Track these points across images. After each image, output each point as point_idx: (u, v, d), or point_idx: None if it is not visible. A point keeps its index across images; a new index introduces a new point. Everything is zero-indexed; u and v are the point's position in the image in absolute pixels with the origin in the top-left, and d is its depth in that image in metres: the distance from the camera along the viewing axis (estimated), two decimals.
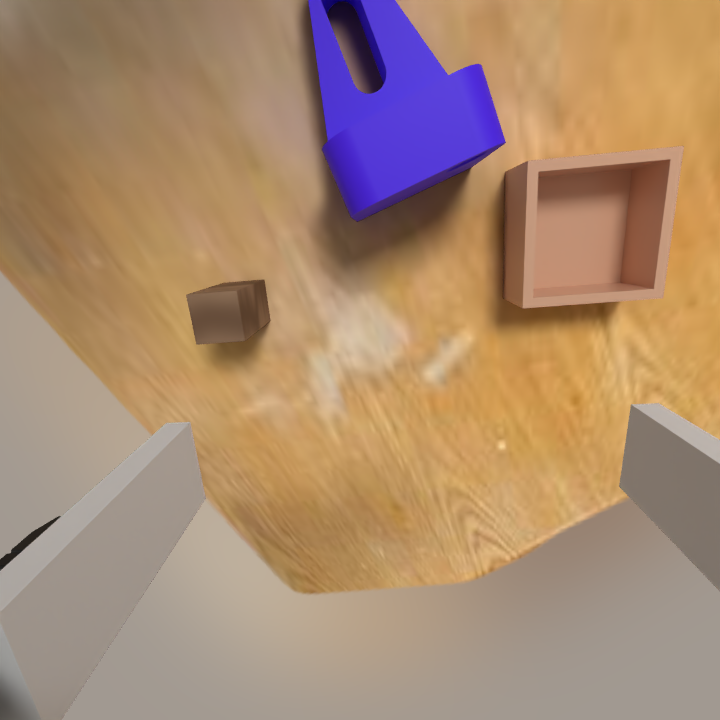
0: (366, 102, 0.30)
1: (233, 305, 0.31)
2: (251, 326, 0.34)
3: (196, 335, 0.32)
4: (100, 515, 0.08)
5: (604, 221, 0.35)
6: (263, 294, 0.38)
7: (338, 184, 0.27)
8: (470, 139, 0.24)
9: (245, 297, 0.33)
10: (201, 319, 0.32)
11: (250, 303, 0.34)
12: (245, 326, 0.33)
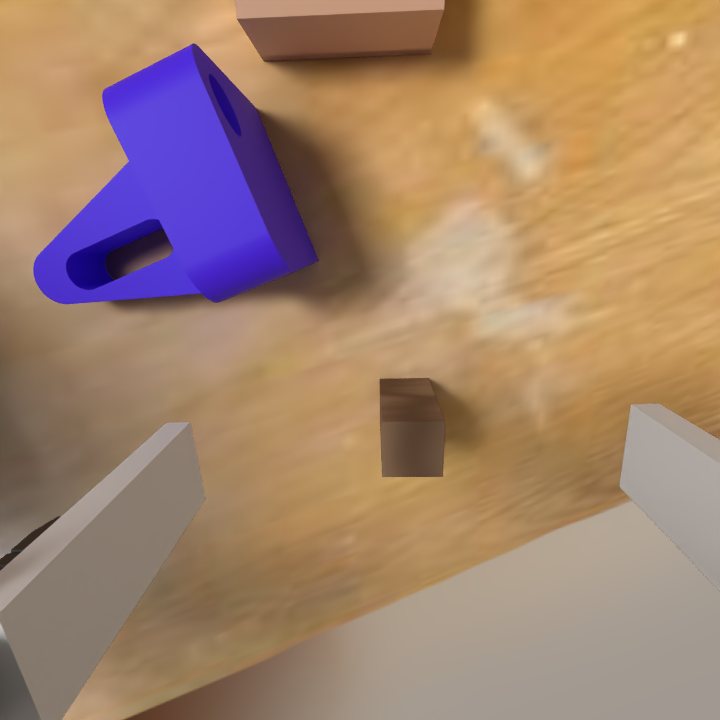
0: None
1: (398, 428, 0.26)
2: (429, 407, 0.28)
3: (431, 474, 0.27)
4: (100, 515, 0.08)
5: None
6: (396, 382, 0.32)
7: (254, 285, 0.21)
8: (186, 96, 0.17)
9: (392, 409, 0.27)
10: (412, 465, 0.26)
11: (402, 403, 0.28)
12: (427, 416, 0.26)
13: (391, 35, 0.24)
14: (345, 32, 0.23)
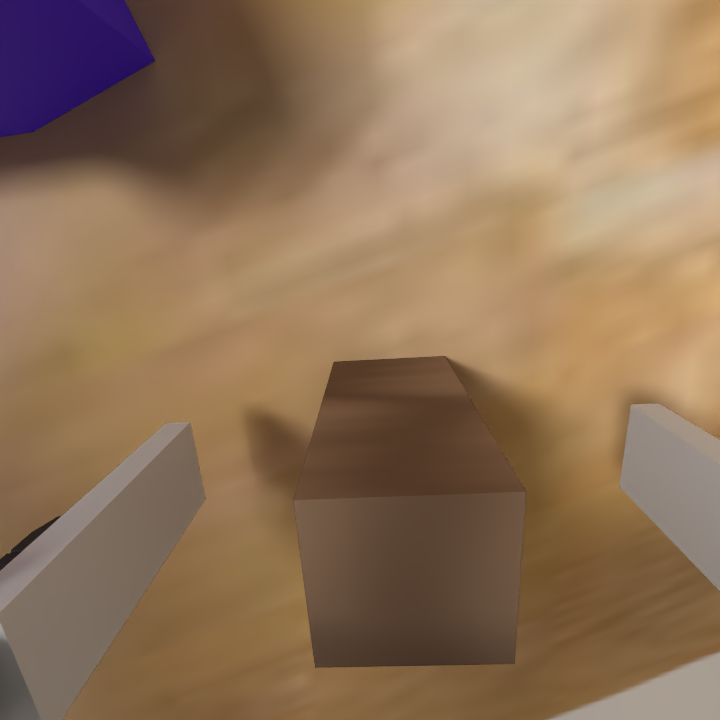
0: None
1: (356, 519, 0.07)
2: (456, 432, 0.09)
3: (477, 659, 0.08)
4: (100, 515, 0.08)
5: None
6: (370, 367, 0.14)
7: None
8: None
9: (344, 443, 0.09)
10: (412, 634, 0.08)
11: (376, 423, 0.10)
12: (458, 471, 0.08)
13: None
14: None
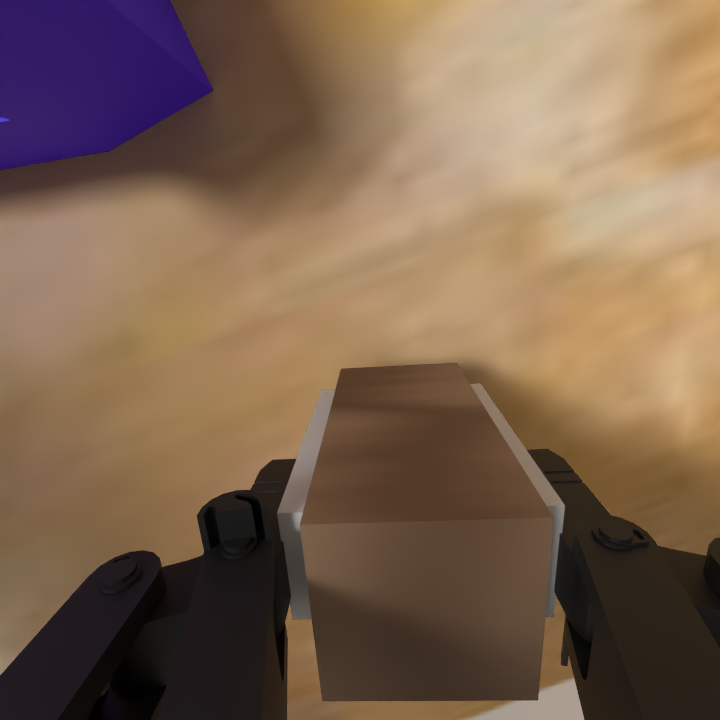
0: None
1: (367, 546, 0.07)
2: (474, 447, 0.08)
3: (497, 694, 0.07)
4: None
5: None
6: (378, 374, 0.13)
7: None
8: None
9: (354, 459, 0.08)
10: (428, 668, 0.07)
11: (386, 436, 0.09)
12: (477, 493, 0.07)
13: None
14: None
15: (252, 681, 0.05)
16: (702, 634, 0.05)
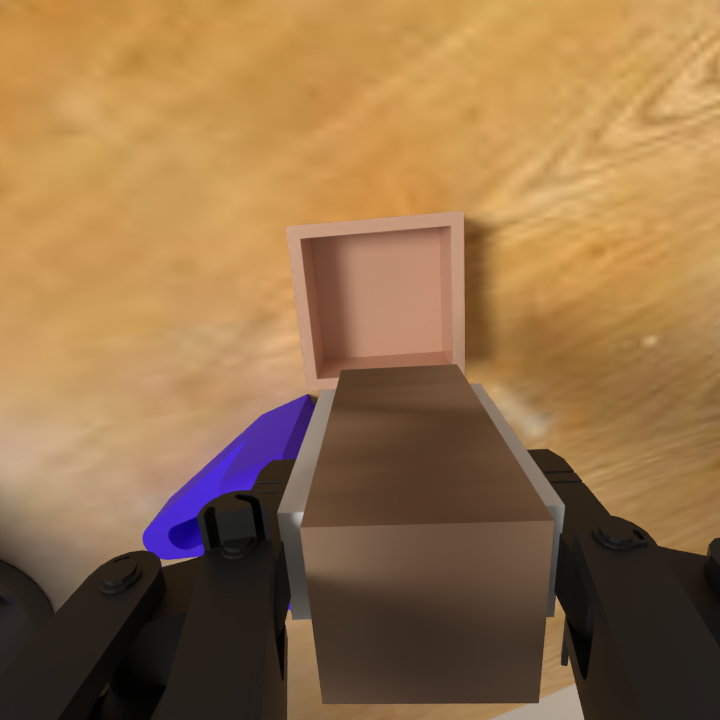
0: None
1: (367, 549, 0.07)
2: (474, 450, 0.08)
3: (498, 697, 0.07)
4: None
5: (367, 259, 0.30)
6: (379, 376, 0.13)
7: None
8: None
9: (354, 461, 0.08)
10: (428, 670, 0.07)
11: (387, 438, 0.09)
12: (478, 496, 0.07)
13: None
14: None
15: (252, 681, 0.05)
16: (702, 634, 0.05)
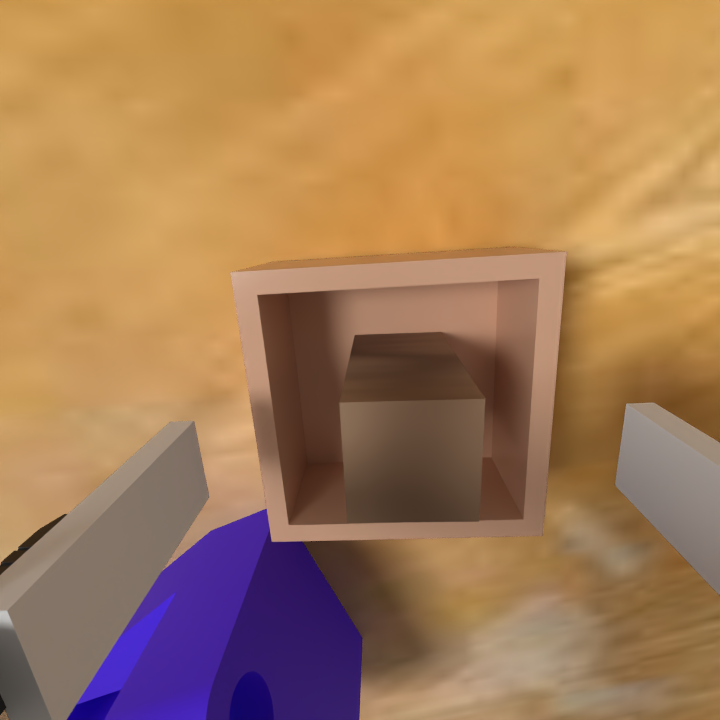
0: None
1: (378, 416, 0.11)
2: (445, 373, 0.13)
3: (454, 517, 0.12)
4: (106, 513, 0.08)
5: (378, 315, 0.19)
6: (383, 338, 0.18)
7: None
8: None
9: (369, 378, 0.13)
10: (412, 498, 0.12)
11: (389, 368, 0.14)
12: (444, 391, 0.12)
13: None
14: None
15: None
16: None
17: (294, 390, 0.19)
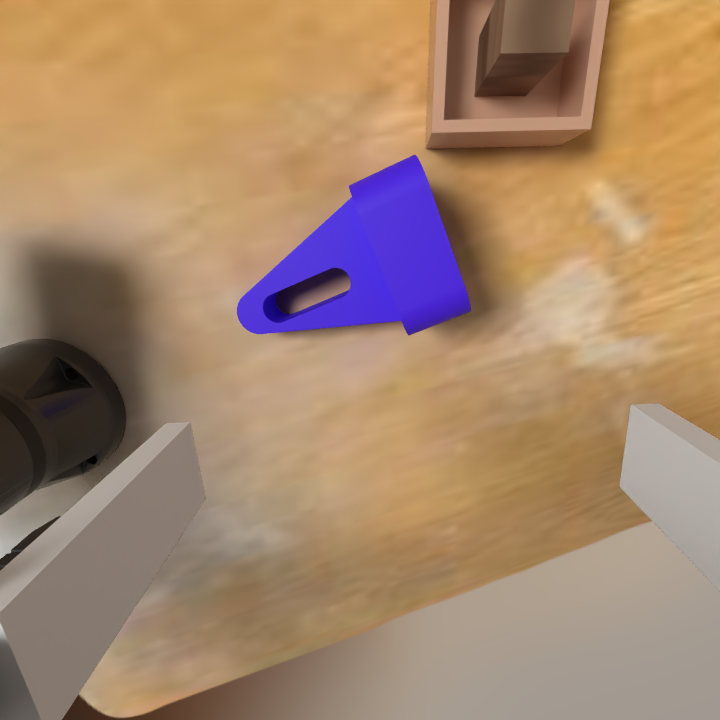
0: (357, 286, 0.34)
1: None
2: None
3: (556, 49, 0.24)
4: (100, 515, 0.08)
5: None
6: None
7: (440, 322, 0.28)
8: (416, 195, 0.25)
9: None
10: (536, 36, 0.24)
11: None
12: None
13: (538, 138, 0.31)
14: (504, 137, 0.31)
15: None
16: None
17: None
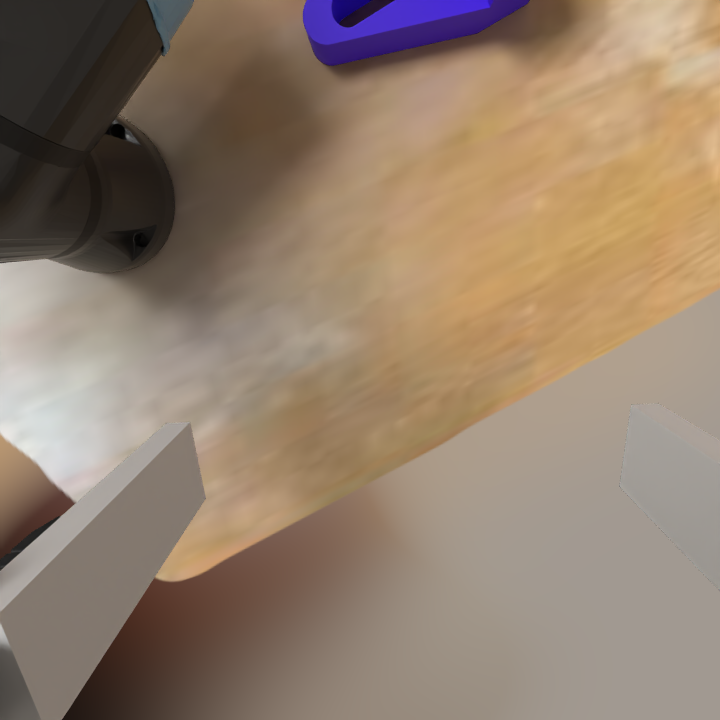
0: None
1: None
2: None
3: None
4: (100, 515, 0.08)
5: None
6: None
7: None
8: None
9: None
10: None
11: None
12: None
13: None
14: None
15: None
16: None
17: None
